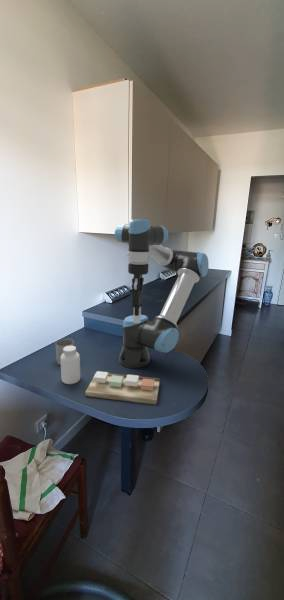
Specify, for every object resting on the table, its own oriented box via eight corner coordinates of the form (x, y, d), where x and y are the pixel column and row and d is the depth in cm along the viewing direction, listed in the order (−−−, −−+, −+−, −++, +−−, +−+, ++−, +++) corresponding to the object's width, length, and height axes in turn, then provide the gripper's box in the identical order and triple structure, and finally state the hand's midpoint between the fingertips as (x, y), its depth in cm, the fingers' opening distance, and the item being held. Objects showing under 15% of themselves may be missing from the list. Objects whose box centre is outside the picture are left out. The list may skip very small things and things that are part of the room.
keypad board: (96, 377, 122) (96, 371, 121) (159, 383, 118) (159, 378, 117) (85, 396, 108) (85, 390, 108) (156, 404, 105) (156, 398, 104)
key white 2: (127, 378, 114) (127, 374, 114) (138, 379, 114) (138, 375, 113) (124, 385, 110) (125, 380, 109) (136, 386, 109) (136, 382, 108)
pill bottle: (63, 386, 114) (61, 353, 110) (60, 376, 121) (58, 345, 117) (82, 382, 117) (81, 350, 113) (78, 373, 124) (77, 342, 120)
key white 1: (97, 375, 116) (97, 371, 115) (108, 376, 115) (108, 372, 115) (93, 381, 111) (93, 377, 111) (105, 382, 111) (104, 378, 110)
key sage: (112, 379, 115) (112, 375, 115) (123, 380, 115) (123, 376, 114) (109, 385, 111) (109, 381, 110) (120, 387, 110) (120, 382, 110)
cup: (61, 367, 129) (60, 347, 126) (53, 360, 135) (52, 341, 132) (77, 361, 134) (76, 342, 132) (69, 355, 140) (68, 337, 138)
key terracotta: (142, 382, 114) (142, 378, 113) (154, 384, 113) (154, 379, 112) (140, 389, 109) (141, 385, 109) (153, 390, 108) (153, 386, 108)
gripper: (131, 260, 109) (130, 316, 115) (124, 264, 96) (124, 327, 103) (150, 260, 108) (148, 317, 114) (146, 265, 95) (144, 329, 102)
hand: (136, 322), depth 109 cm, fingers closed
